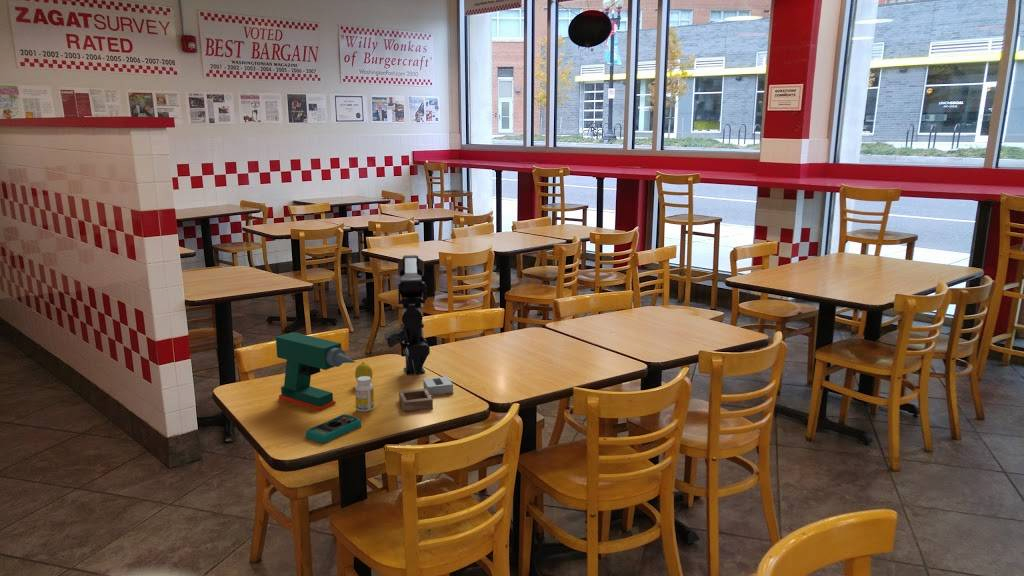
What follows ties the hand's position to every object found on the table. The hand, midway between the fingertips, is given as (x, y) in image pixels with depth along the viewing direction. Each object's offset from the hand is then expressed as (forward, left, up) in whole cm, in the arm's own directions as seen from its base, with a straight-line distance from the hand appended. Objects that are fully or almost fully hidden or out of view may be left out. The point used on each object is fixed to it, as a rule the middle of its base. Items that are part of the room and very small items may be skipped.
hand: (414, 370), depth 216 cm
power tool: (-8, -27, -11) cm, 30 cm away
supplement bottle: (-1, -15, -11) cm, 19 cm away
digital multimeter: (+13, -25, -12) cm, 31 cm away
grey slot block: (-10, +9, -11) cm, 17 cm away
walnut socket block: (0, 0, -11) cm, 11 cm away
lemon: (-22, -13, -11) cm, 28 cm away
